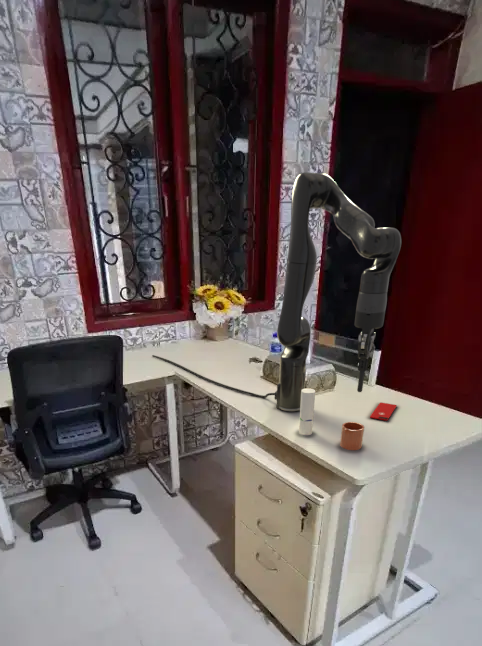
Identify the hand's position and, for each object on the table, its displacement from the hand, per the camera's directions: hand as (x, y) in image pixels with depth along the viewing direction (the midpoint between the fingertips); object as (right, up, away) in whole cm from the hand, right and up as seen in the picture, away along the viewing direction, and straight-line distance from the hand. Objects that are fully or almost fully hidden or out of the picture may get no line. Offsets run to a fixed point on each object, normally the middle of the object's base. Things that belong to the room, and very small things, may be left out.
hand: (362, 369), depth 121 cm
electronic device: (+18, -11, +27) cm, 34 cm away
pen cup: (-2, -23, +5) cm, 24 cm away
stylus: (0, -6, +3) cm, 7 cm away
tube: (-13, -19, +15) cm, 27 cm away
